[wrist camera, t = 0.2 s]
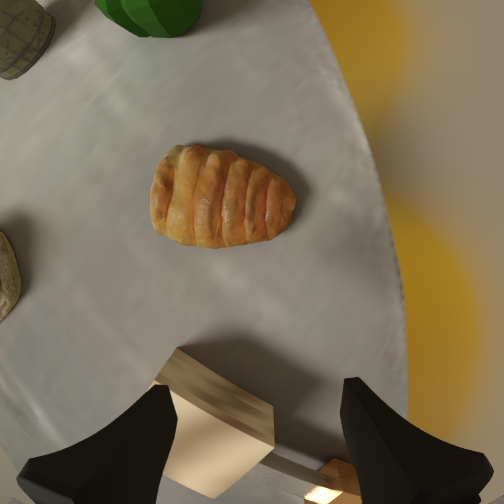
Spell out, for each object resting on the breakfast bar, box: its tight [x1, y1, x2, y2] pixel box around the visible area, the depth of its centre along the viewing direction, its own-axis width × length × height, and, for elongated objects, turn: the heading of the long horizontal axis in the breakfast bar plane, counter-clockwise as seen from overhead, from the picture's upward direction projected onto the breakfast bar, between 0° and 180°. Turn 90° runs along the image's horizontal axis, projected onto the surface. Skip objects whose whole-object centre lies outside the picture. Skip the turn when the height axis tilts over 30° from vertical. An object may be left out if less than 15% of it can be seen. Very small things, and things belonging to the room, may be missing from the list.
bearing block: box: [147, 348, 275, 499], centre depth 20 cm, size 9×8×5 cm
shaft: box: [244, 452, 362, 504], centre depth 20 cm, size 16×4×4 cm, turn 56°
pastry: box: [150, 144, 296, 249], centre depth 19 cm, size 9×7×4 cm
